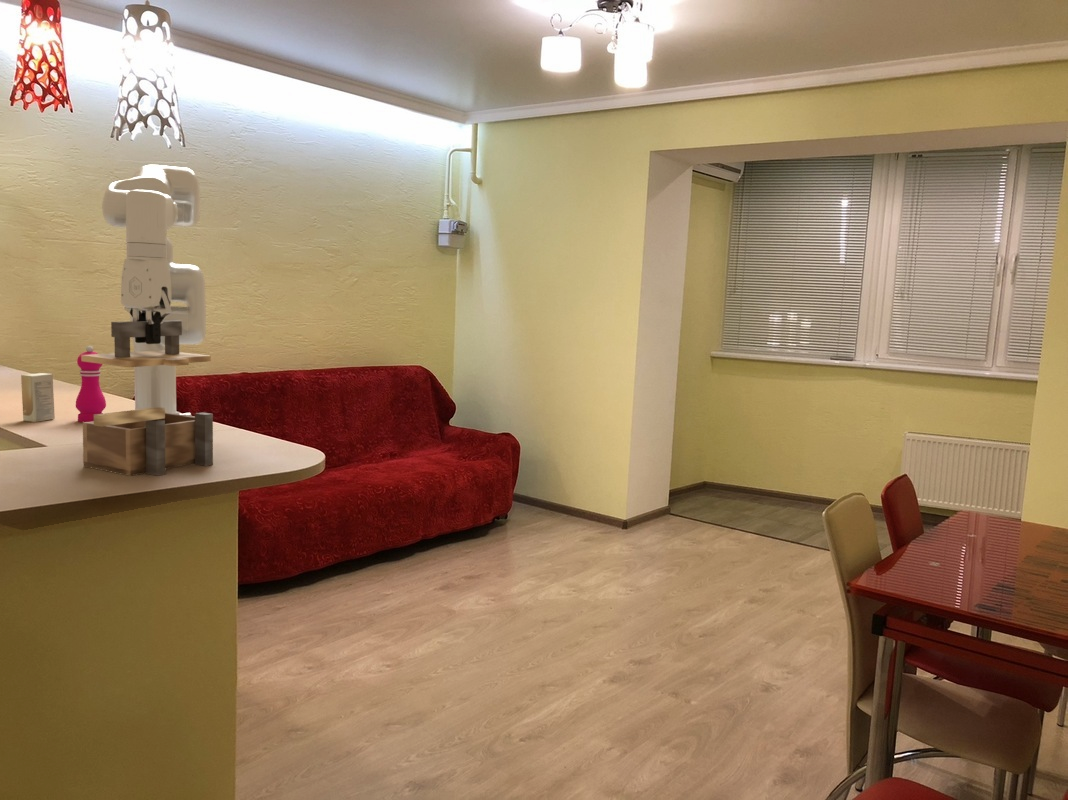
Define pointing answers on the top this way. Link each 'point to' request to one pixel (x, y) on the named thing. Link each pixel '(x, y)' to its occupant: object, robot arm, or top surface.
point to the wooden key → (129, 416)
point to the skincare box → (37, 397)
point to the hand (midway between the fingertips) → (148, 342)
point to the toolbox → (149, 444)
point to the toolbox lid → (146, 358)
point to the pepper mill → (89, 389)
